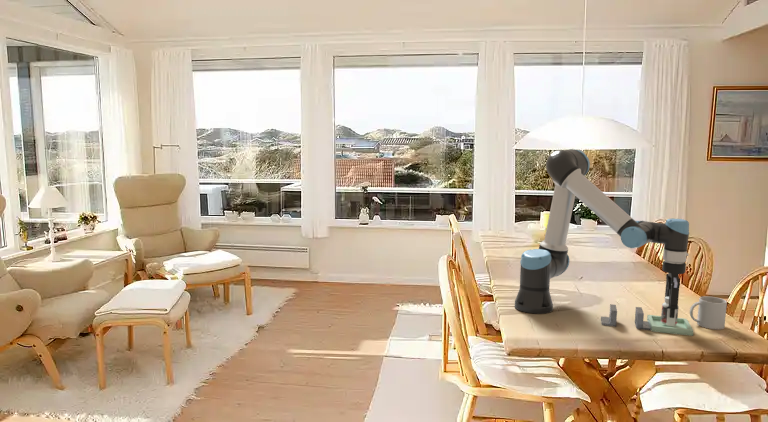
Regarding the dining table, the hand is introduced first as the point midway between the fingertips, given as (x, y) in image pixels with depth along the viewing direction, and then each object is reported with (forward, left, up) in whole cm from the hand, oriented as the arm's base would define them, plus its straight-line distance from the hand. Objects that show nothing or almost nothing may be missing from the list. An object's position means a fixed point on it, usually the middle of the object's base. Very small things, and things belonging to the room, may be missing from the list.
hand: (669, 322), depth 205 cm
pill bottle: (0, 0, -1) cm, 1 cm away
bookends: (-15, -2, -2) cm, 15 cm away
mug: (+14, +8, -2) cm, 16 cm away
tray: (0, 0, -2) cm, 2 cm away
